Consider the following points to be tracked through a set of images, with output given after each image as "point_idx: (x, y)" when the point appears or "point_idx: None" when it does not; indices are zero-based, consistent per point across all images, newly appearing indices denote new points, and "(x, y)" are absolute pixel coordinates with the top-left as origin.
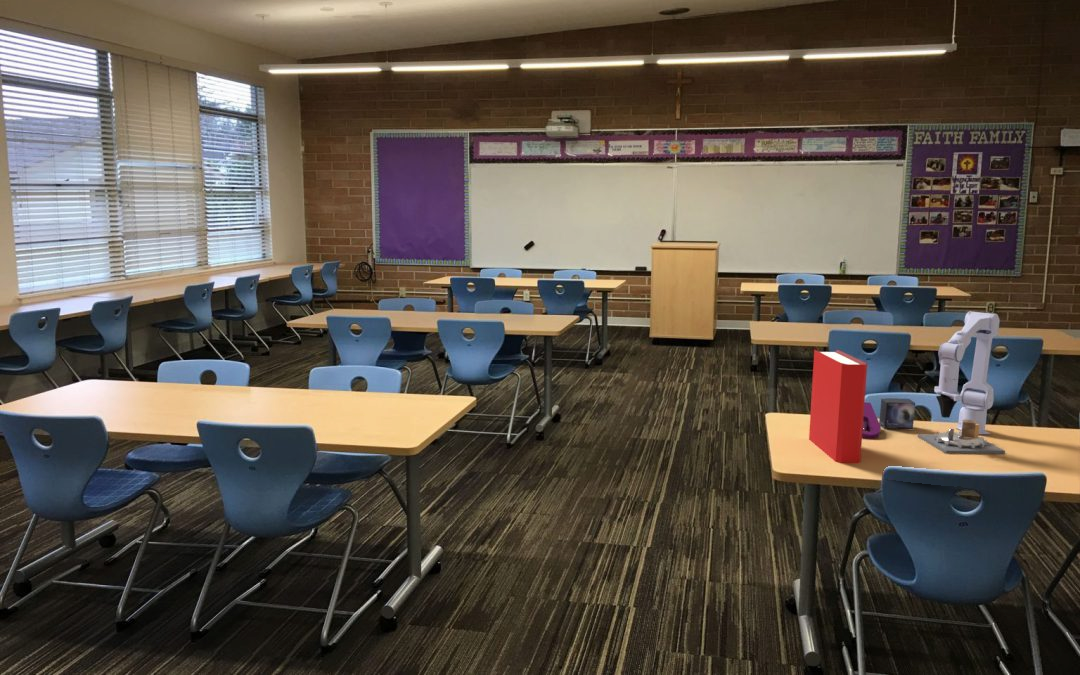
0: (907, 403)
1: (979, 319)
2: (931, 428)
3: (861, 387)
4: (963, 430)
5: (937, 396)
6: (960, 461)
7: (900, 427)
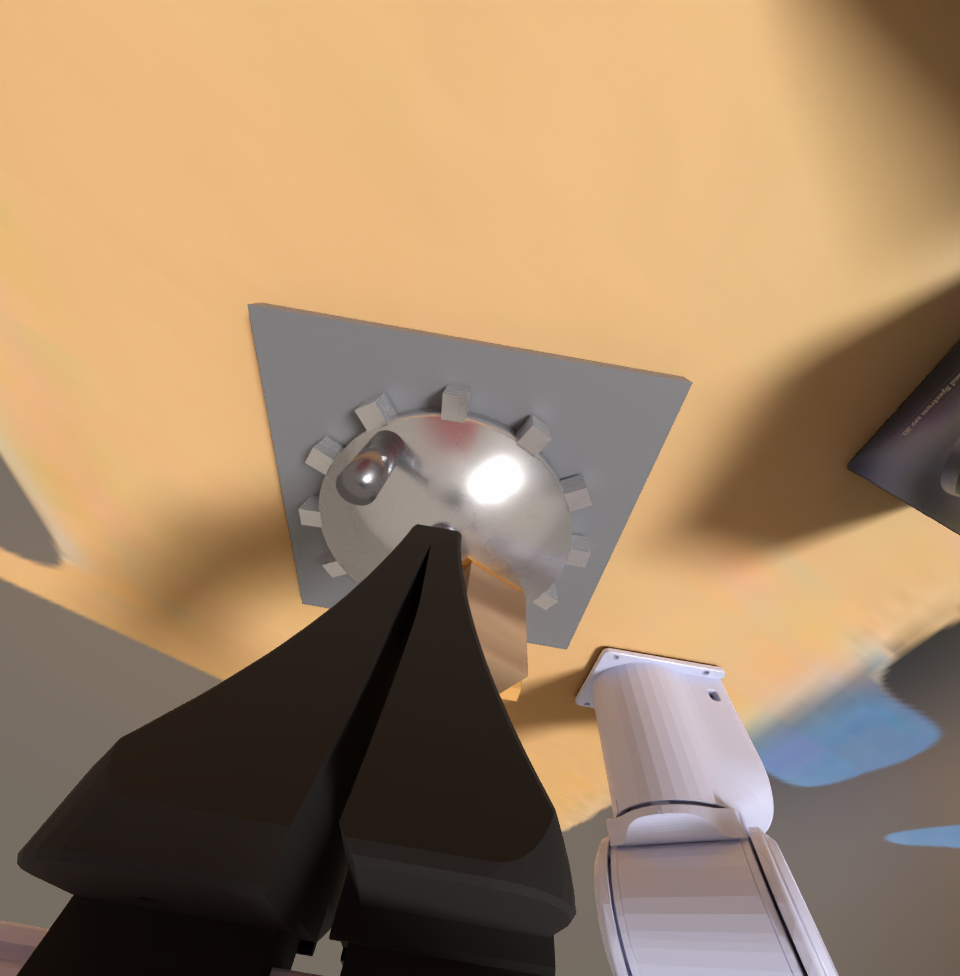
0: None
1: None
2: (789, 580)
3: None
4: None
5: (471, 890)
6: (84, 283)
7: (940, 382)
